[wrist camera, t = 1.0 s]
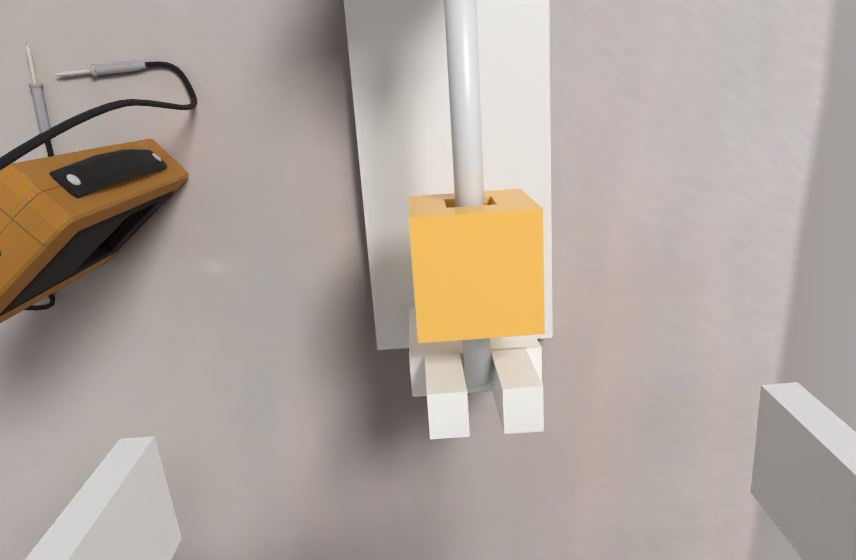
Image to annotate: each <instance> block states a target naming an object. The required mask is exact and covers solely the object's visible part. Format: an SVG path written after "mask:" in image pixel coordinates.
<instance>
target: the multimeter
mask: <svg viewBox="0 0 856 560" xmlns="http://www.w3.org/2000/svg"><path fill="white" fill-rule="evenodd" d="M26 53H27V57H28V62H29V67H30V72H31V76H32V81H33V84H29V87H30V88H31V92H32V96H33V101H34V106H35V110H36V115H37V120H38V124H39V129H40V131H41V134H39V135H37V136H36V137H34V138H32V139H30V140H29V141H27V142H25V143H24V144H22V145H20V146H18V147H17V148H15V149H13V150H12V151H10V152H9V153H7V154H5V155H4V156H2V157H1V158H0V323H1V322H3V321H5V320H7V319H8V318H10V317H12V316H14V315H15V314H17V313H19V312H21V311H22V310H44V309H48V308H50V307H52V306H54V304H55V297H54V295H53V294H52V293H54V292H56V291H57V290H59V289H61V288H62V287H64V286H66V285H68V284H69V283H71V282H73V281H75V280H76V279H78V278H80V277H81V276H83V275H85V274H87V273H88V272H90V271H92V270H94V269H95V268H97V267H99V266H100V265H102V264H104V263H106V262H107V261H108V260H109V259H110V258H111V257H112V256H113V255H114V254H115V253H116V252H117V251H118V250H119V249H120V248H121V247H122V246H123V245H124V244H125V243H126V242H127V240H128V239H129V238H130V237H131V236H132V235H133V234H134V233H135V232H136V231H137V230H138V229H139V228H140V227H141V226H142V225H143V224H144V223H145V222H146V221H147V220H148V219H149V218H150V217H151V216H152V215H153V214H154V213H155V212H156V211H157V210H158V209H159V207H160V206H161V205H162V204H163V203H164V202H165V201H166V200H167V199H168V198H169V197H170V196H171V195H172V194H173V193H174V192H175V191H176V190H177V189H179V187H180V186H181V185H182V184H183V183H184V182H185V181H186V180H187V179H188V172H187V171H185V170H184V169H183V168H182V167H181V166H180V165H179V164H178V163H177V162H176V161H175V160H174V159H173V158H172V157H171V156H170V155H169V154H168V153H167V152H166V151H165V150H164V149H162V148H161V147H160V146H159V145H158V144H157V143H156V142H155V141H154V140H153V139H146V140H141V141H135V142H129V143H123V144H117V145H111V146H106V147H100V148H94V149H89V150H83V151H78V152H73V153H67V154H62V155H57V156H54V154H53V149H52V145H51V142H50V139H52V138H54V137H56V136H57V135H59V134H61V133H63V132H65V131H67V130H69V129H70V128H72V127H74V126H76V125H78V124H81V123H83V122H85V121H87V120H89V119H91V118H93V117H96V116H98V115H101V114H103V113H106V112H108V111H111V110H114V109H118V108H121V107H125V106H134V105H138V106H152V107H161V108H169V109H177V110H190V109H194V107H195V106H196V105H197V98H196V95H195V92H194V90H193V88H192V86H191V84H190V82H189V81H188V79H187V77H186V76H185V74H184V73H183V72H182V71H181V70H180V69H179V68H178V67H176V66H175V65H173V64H170V63H167V62H144V61H130V62H121V63H112V64H103V65H93V64H92V65H90V69H86V70H77V71H68V72H60V73H58V74H55V76H69V75H78V74H87V73H91V74H92V76H94V77H97V76H98V75H105V74H114V73H122V72H131V71H138V70H142V69H146V68H147V67H155V66H163V67H168V68H171V69H172V70H174V71H175V72H176V73H178V74H179V76H180V77H181V78H182V80H183V82H184V83H185V85H186V87H187V89H188V91H189V93H190V96H191V99H192V103H191V104H188V105H178V104H171V103H165V102H158V101H150V100H137V99H127V100H119V101H115V102H111V103H107V104H104V105H101V106H99V107H96V108H93V109H90V110H88V111H86V112H83V113H81V114H79V115H77V116H74V117H72V118H70V119H68V120H66V121H64V122H62V123H60V124H58V125H56V126H54V127H52V128H50V125H49V121H48V116H47V111H46V106H45V102H44V97H43V92H42V86H43V85H42V84H37V79H36V74H35V69H34V65H33V60H32V55H31V51H30V49H29V46H28V44H27V42H26ZM43 143H45V144H46V148H47V152H48V157H46V158H41V159H35V160H30V161H25V162H19V163H14V164H11V163H13V162H14V161H16V160H17V159H19V158H20V157H22V156H23V155H25V154H27V153H28V152H30V151H32V150H33V149H35V148H37V147H38V146H40V145H42V144H43ZM47 296H48V297H49V298H50V303H48V304H46V305H39V306H35V305H33V304H35V303H36V302H38V301H40V300H42V299H43V298H45V297H47Z"/></svg>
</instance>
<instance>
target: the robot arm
mask: <svg viewBox="0 0 856 560" xmlns="http://www.w3.org/2000/svg"><path fill="white" fill-rule="evenodd" d="M751 493H752V494H753V496H754V497H755V498H756V500H757V501H758V502H759V504H760V505H761V506H762V507H763V509H764V510H765V511H766V513H767V514H768V515H769V517H770V518H771V519H772V520H773V522H774V523H775V524H776V526H777V527H778V528H779V530H780V531H781V532H782V534H783V535H784V536H785V537H786V539H787V540H788V541H789V543H790V544H791V545H792V546H793V548H794V549H795V550H796V552H797V553H798V554H799V556H800V557H801V558H802V560H856V432H855V431H854V430H853V429H851V428H850V427H849V426H848V425H847V424H845V423H844V422H843V421H842V420H841V419H839V418H838V417H837V416H836V415H835V414H834V413H832V412H831V411H830V410H829V409H828V408H827V407H826V406H824V405H823V404H822V403H821V402H820V401H818V400H817V399H816V398H815V397H814V396H813V395H811V394H810V393H809V392H808V391H807V390H806V389H804V388H803V387H802V386H801V385H800V384H798V383H797V382H795V383H783V384H771V385H761V392H760V403H759V413H758V423H757V433H756V444H755V454H754V464H753V474H752V484H751ZM181 539H182V538H181V534H180V530H179V526H178V523H177V519H176V515H175V511H174V508H173V504H172V500H171V496H170V493H169V489H168V485H167V481H166V478H165V474H164V470H163V466H162V463H161V459H160V455H159V451H158V448H157V444H156V440H155V436H151V437H139V438H128V439H119V441H118V442H117V443H116V444H115V446H114V447H113V448H112V449H111V451H110V452H109V453H108V455H107V456H106V457H105V458H104V460H103V461H102V462H101V463H100V465H99V466H98V467H97V469H96V470H95V471H94V472H93V474H92V475H91V476H90V477H89V479H88V480H87V481H86V483H85V484H84V485H83V486H82V488H81V489H80V490H79V491H78V493H77V494H76V495H75V497H74V498H73V499H72V500H71V502H70V503H69V504H68V505H67V507H66V508H65V509H64V511H63V512H62V513H61V514H60V516H59V517H58V518H57V519H56V521H55V522H54V523H53V525H52V526H51V527H50V528H49V530H48V531H47V532H46V533H45V535H44V536H43V537H42V539H41V540H40V541H39V542H38V544H37V545H36V546H35V547H34V549H33V550H32V551H31V553H30V554H29V555H28V556H27V558H26V559H25V560H171V559H172V557H173V555H174V553H175V551H176V549H177V547H178V545H179V543H180V541H181Z"/></svg>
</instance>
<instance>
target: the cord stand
mask: <svg viewBox="0 0 856 560" xmlns="http://www.w3.org/2000/svg"><path fill="white" fill-rule="evenodd" d="M344 9H345V20H346V30H347V41H348V51H349V61H350V72H351V82H352V92H353V103H354V113H355V123H356V134H357V144H358V155H359V165H360V175H361V186H362V196H363V206H364V217H365V227H366V237H367V248H368V258H369V269H370V279H371V289H372V300H373V310H374V320H375V331H376V341H377V350H389V349H403V348H409V361H410V374H411V386H412V397H419V396H427V404H428V418H429V431H430V439H443V438H457V437H470V434H469V415H468V396H467V393H474V392H488V391H492V392H493V395H494V399H495V402H496V406H497V410H498V413H499V417H500V421H501V424H502V428H503V431H504V434H511V433H525V432H538V431H544V421H543V385H542V352H541V346H540V344H539V342H538V340H537V339H541V338H552V239H551V138H550V38H549V0H344ZM505 189H522V190H523V191H524V192H525V193H526V194H527V195H528V196H529V197H531V198H532V199H533V200H534V201H535V202H536V203H537V204H539V205H540V206H541V207H542V208H543V240H544V313H545V334H539V335H525V336H511V337H497V338H483V339H470V340H456V341H442V342H428V343H418V337H417V323H416V310H415V297H414V284H413V271H412V258H411V245H410V232H409V218H408V214H409V196H420V195H434V194H449V193H455V207H467V206H481V205H485V203H484V191H491V190H505Z"/></svg>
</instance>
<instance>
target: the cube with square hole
mask: <svg viewBox="0 0 856 560" xmlns="http://www.w3.org/2000/svg"><path fill="white" fill-rule="evenodd" d="M484 203H485V205H481V206H467V207H455V193H449V194H434V195H420V196H409V214H408V218H409V232H410V245H411V258H412V271H413V284H414V297H415V310H416V323H417V337H418V343H428V342H442V341H456V340H470V339H483V338H497V337H511V336H525V335H539V334H545V313H544V240H543V208H542V207H541V206H540V205H539V204H537V203H536V202H535V201H534V200H533V199H532V198H531V197H529V196H528V195H527V194H526V193H525V192H524V191H523V190H522V189H505V190H491V191H484Z"/></svg>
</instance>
